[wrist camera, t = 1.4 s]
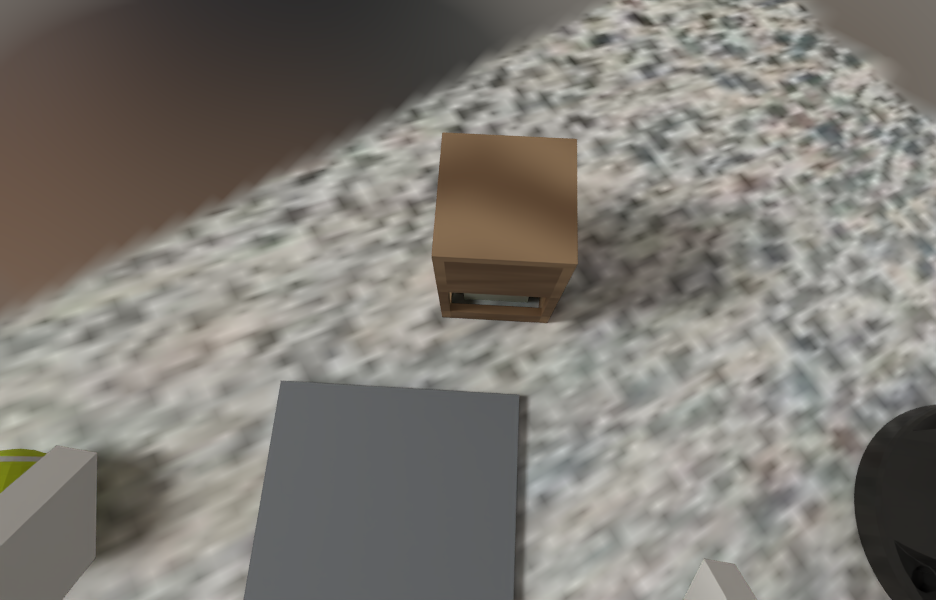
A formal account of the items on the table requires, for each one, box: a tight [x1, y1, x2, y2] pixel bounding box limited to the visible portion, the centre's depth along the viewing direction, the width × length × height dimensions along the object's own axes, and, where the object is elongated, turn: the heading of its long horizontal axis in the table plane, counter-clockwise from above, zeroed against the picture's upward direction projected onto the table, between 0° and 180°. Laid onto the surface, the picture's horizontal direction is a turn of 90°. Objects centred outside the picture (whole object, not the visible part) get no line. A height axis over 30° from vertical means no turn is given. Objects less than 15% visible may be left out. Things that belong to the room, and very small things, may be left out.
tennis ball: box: [0, 449, 47, 493], centre depth 30 cm, size 7×7×7 cm
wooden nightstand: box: [432, 133, 578, 323], centre depth 33 cm, size 7×7×11 cm
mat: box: [244, 381, 519, 600], centre depth 33 cm, size 16×16×1 cm
